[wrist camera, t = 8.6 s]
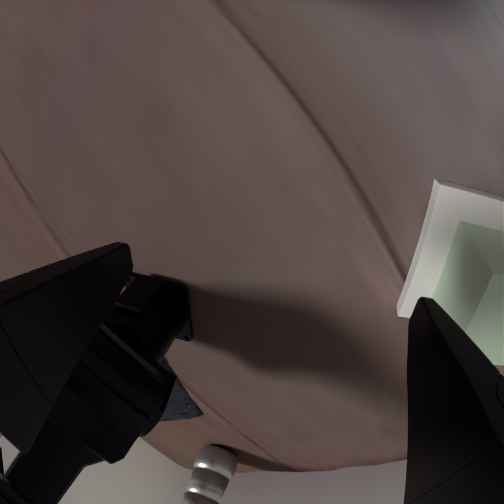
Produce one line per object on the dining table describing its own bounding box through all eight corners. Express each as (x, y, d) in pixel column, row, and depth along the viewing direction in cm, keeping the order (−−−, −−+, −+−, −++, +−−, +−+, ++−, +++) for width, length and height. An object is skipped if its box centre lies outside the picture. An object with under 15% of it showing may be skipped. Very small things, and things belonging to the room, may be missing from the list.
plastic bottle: (215, 437, 41) (166, 550, 24) (249, 456, 42) (209, 564, 25) (194, 443, 44) (148, 542, 28) (226, 461, 45) (187, 557, 29)
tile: (498, 320, 20) (502, 330, 19) (396, 305, 22) (397, 316, 21) (545, 211, 15) (553, 218, 14) (434, 178, 17) (439, 184, 16)
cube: (495, 307, 18) (519, 365, 13) (431, 297, 19) (446, 361, 14) (526, 238, 15) (566, 288, 10) (458, 220, 16) (493, 273, 11)
